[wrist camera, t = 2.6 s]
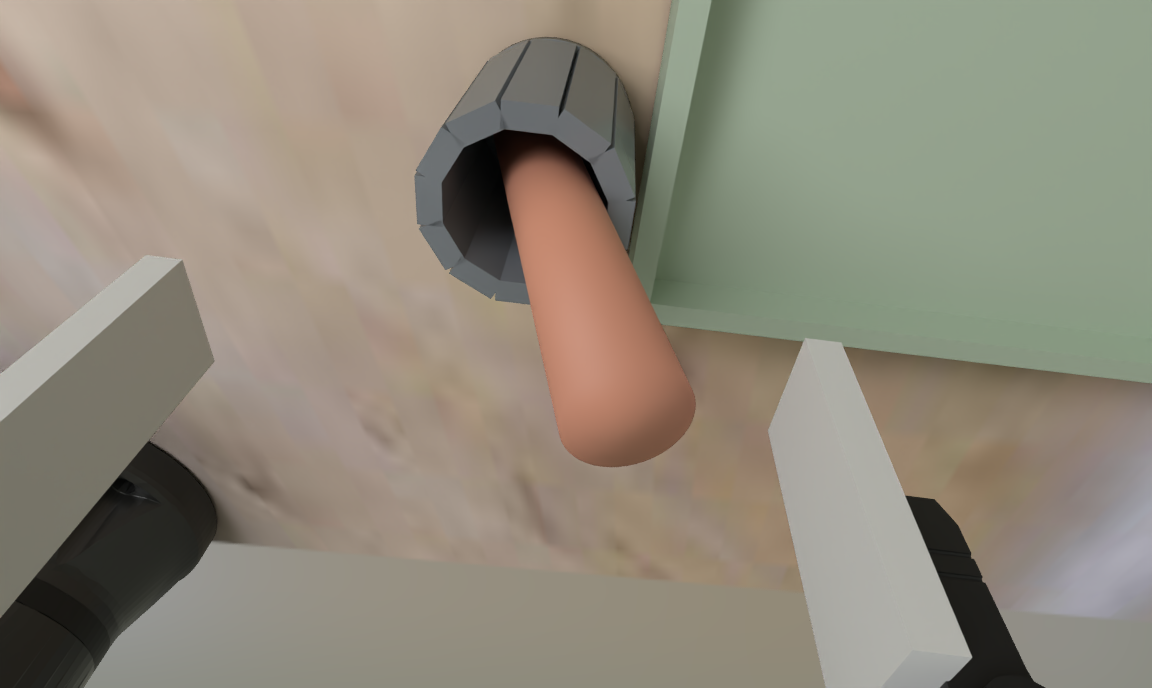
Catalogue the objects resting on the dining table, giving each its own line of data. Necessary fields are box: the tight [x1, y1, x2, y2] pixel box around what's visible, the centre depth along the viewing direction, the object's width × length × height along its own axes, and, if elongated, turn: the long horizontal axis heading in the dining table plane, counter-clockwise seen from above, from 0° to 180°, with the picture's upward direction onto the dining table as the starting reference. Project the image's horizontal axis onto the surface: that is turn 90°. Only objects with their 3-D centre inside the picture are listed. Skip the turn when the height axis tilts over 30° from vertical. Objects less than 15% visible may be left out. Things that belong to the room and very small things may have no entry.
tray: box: [629, 0, 1152, 383], centre depth 24 cm, size 26×18×3 cm
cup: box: [415, 37, 636, 305], centre depth 23 cm, size 7×7×8 cm
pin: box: [493, 129, 696, 467], centre depth 19 cm, size 6×3×16 cm, turn 84°
